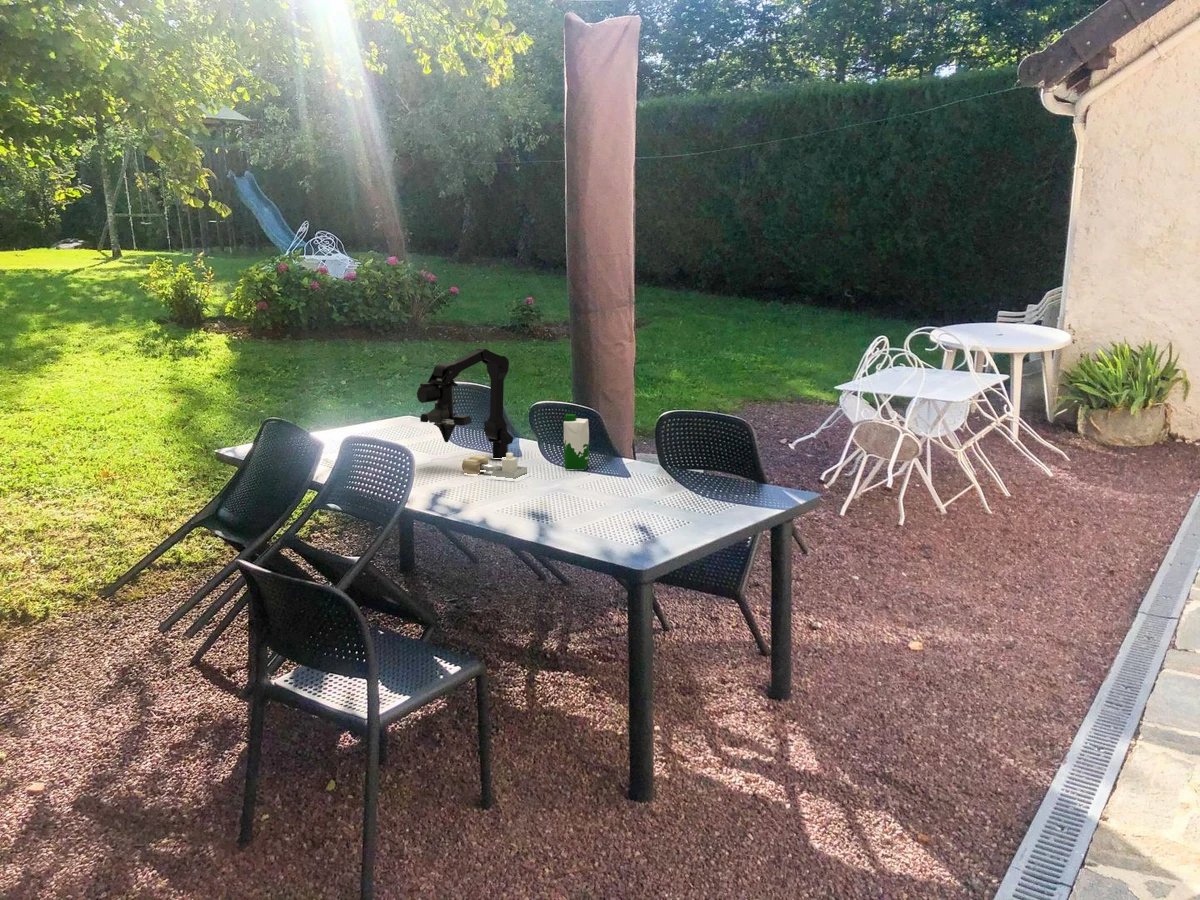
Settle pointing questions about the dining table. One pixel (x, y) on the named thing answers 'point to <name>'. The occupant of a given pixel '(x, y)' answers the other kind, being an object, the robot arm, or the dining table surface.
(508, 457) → the spigot
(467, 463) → the mount
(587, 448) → the milk carton
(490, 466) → the pin
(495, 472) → the socket
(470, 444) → the dining table surface
